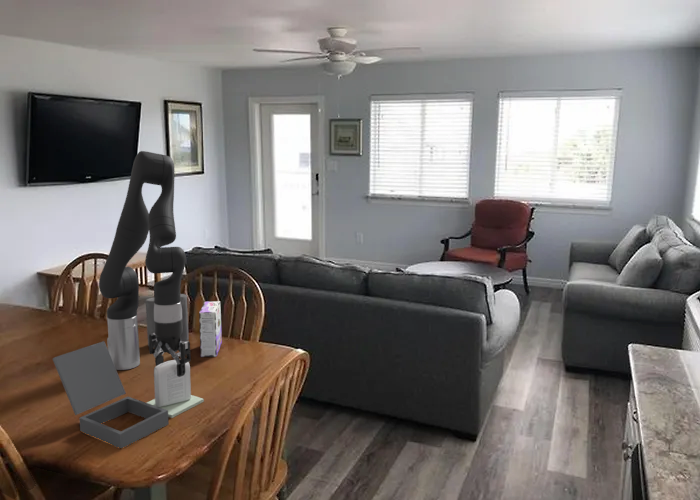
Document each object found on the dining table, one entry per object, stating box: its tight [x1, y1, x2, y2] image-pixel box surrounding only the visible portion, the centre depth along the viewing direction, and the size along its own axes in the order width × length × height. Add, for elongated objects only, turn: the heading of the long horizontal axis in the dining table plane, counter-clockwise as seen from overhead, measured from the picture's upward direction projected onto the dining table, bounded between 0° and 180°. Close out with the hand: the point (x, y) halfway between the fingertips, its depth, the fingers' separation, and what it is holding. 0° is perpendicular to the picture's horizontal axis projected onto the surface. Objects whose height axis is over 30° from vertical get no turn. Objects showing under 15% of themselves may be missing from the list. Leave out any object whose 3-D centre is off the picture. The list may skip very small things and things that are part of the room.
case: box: [78, 396, 169, 449], centre depth 153 cm, size 16×15×4 cm
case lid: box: [52, 340, 126, 416], centre depth 158 cm, size 16×15×2 cm
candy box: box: [198, 300, 223, 358], centre depth 209 cm, size 14×6×16 cm, turn 5°
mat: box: [146, 394, 205, 419], centre depth 167 cm, size 12×12×1 cm
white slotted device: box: [153, 359, 192, 407], centre depth 166 cm, size 10×4×12 cm, turn 127°
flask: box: [145, 293, 190, 349], centre depth 215 cm, size 15×6×20 cm, turn 125°
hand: (170, 372), depth 165 cm, fingers open, 8 cm apart
